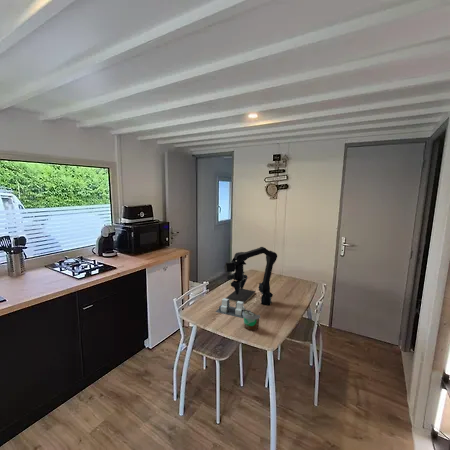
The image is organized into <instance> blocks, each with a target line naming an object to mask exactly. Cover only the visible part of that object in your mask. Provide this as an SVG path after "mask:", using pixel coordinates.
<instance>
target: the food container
mask: <svg viewBox="0 0 450 450" xmlns="http://www.w3.org/2000/svg"><path fill="white" fill-rule="evenodd" d="M247 310H248V309H246V308H245V307H244V310H243V313H242V315H243V317H244V318H243V326H244V328H245V330H247V331H250V332H254V331H258V330H259V325H260V319H261V314H256V313H254V312H253V311H251V310H250V311H251V312H250V311H247Z"/></svg>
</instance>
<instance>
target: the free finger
mask: <svg viewBox="0 0 450 450" xmlns="http://www.w3.org/2000/svg"><path fill="white" fill-rule="evenodd" d="M244 304H245V303H244V302H241V301H237V302H235V307H236V309H235V314H236V315H242V310H244V309H245V306H244Z"/></svg>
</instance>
